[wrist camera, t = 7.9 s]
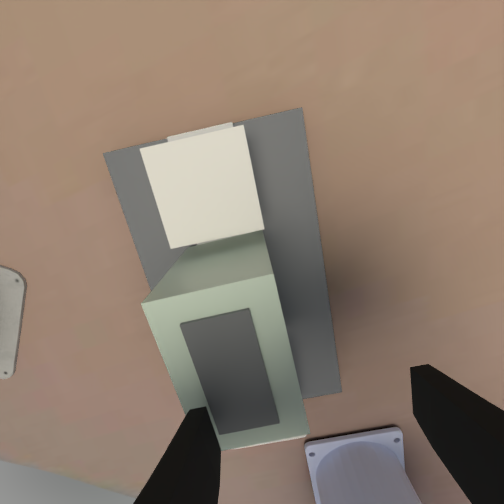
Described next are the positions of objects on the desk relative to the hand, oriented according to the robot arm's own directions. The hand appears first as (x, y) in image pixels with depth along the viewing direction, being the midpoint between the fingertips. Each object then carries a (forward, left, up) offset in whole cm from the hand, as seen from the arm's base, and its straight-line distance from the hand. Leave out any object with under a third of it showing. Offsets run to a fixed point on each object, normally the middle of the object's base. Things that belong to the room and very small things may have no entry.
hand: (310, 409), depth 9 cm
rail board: (+1, +3, -9) cm, 10 cm away
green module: (+1, +3, -8) cm, 8 cm away
